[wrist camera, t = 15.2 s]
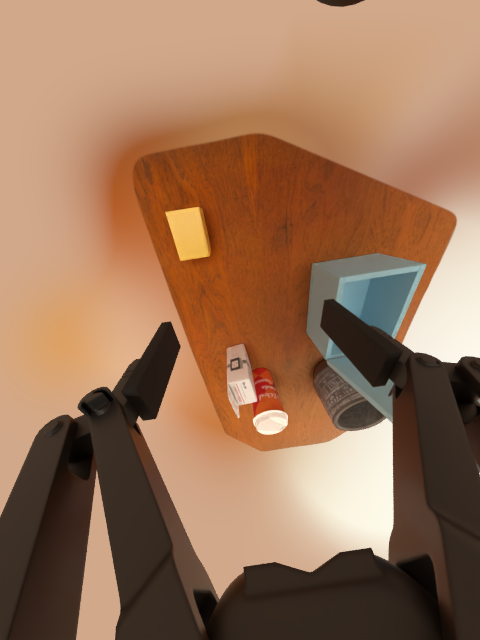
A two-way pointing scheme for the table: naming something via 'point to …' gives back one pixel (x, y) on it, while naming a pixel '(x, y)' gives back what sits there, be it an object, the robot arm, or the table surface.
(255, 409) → the coffee cup
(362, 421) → the planter
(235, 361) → the ink box
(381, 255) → the cool box
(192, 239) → the block
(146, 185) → the table surface
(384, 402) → the cool box lid
